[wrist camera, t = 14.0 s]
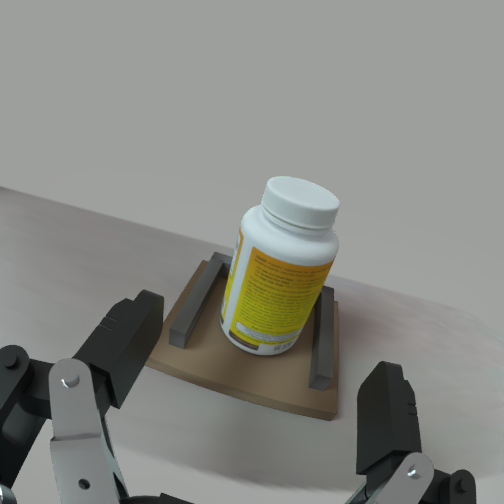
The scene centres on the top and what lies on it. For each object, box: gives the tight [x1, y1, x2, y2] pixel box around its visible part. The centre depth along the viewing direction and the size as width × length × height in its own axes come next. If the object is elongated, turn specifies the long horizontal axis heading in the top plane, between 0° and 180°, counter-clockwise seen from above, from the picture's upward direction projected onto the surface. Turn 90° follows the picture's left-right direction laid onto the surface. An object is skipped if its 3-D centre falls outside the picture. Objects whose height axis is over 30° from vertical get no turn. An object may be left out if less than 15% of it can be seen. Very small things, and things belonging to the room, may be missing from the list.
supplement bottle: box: [220, 176, 340, 355], centre depth 18 cm, size 6×6×10 cm
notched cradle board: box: [145, 252, 339, 421], centre depth 21 cm, size 12×11×2 cm
